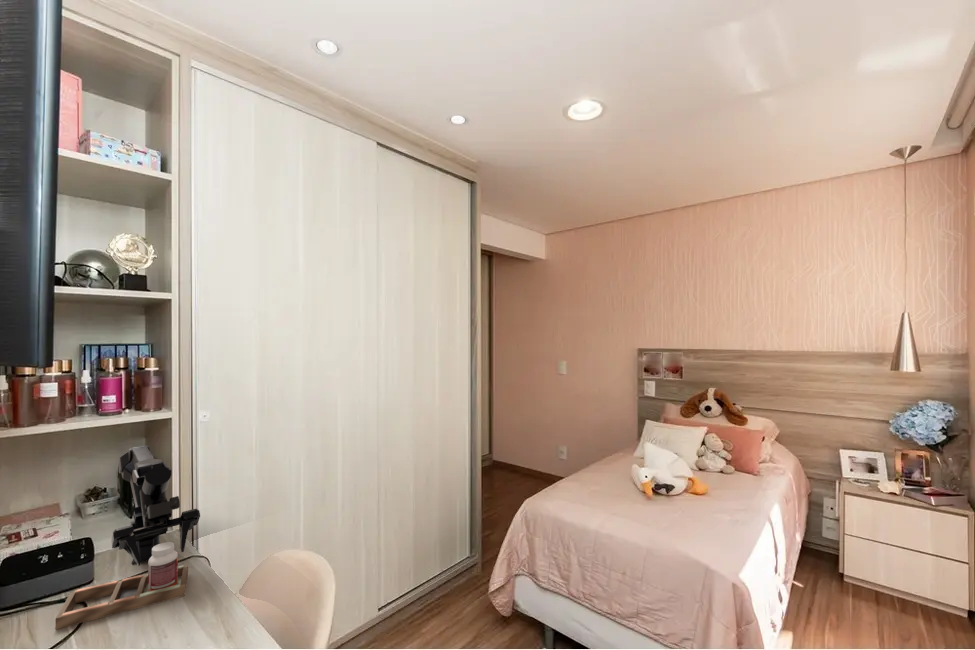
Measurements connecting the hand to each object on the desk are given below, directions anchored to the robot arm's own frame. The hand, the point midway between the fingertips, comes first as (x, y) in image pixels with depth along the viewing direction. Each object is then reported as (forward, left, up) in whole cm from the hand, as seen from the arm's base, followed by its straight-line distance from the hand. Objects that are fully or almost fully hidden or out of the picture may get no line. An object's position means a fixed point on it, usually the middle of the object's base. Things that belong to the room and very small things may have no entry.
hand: (161, 558), depth 113 cm
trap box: (+2, -7, -8) cm, 10 cm away
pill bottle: (+2, 0, -8) cm, 8 cm away
